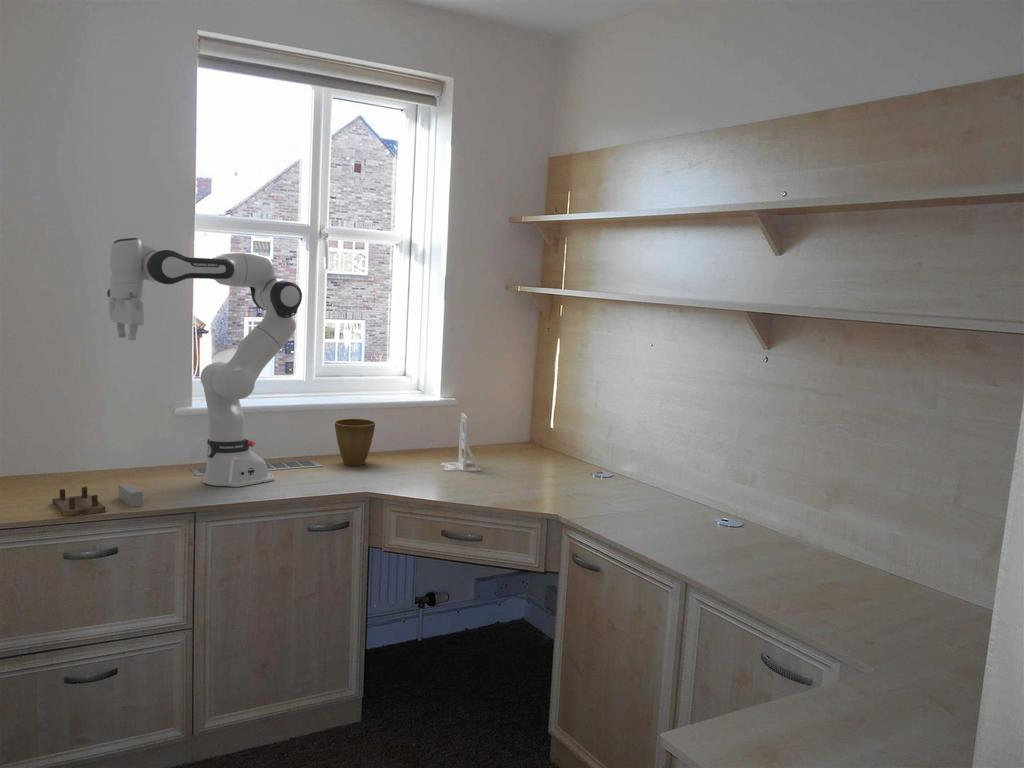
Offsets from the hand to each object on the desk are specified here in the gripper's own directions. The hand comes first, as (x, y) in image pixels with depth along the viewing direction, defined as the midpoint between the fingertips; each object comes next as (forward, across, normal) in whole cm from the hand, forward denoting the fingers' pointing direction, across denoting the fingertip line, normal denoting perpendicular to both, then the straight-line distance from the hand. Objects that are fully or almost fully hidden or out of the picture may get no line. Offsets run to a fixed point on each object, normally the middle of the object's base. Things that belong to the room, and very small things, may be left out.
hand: (126, 339), depth 252 cm
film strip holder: (+48, -22, -112) cm, 124 cm away
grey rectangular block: (+48, -11, +2) cm, 49 cm away
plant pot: (+48, +2, -81) cm, 94 cm away
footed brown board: (+47, -10, +16) cm, 51 cm away
